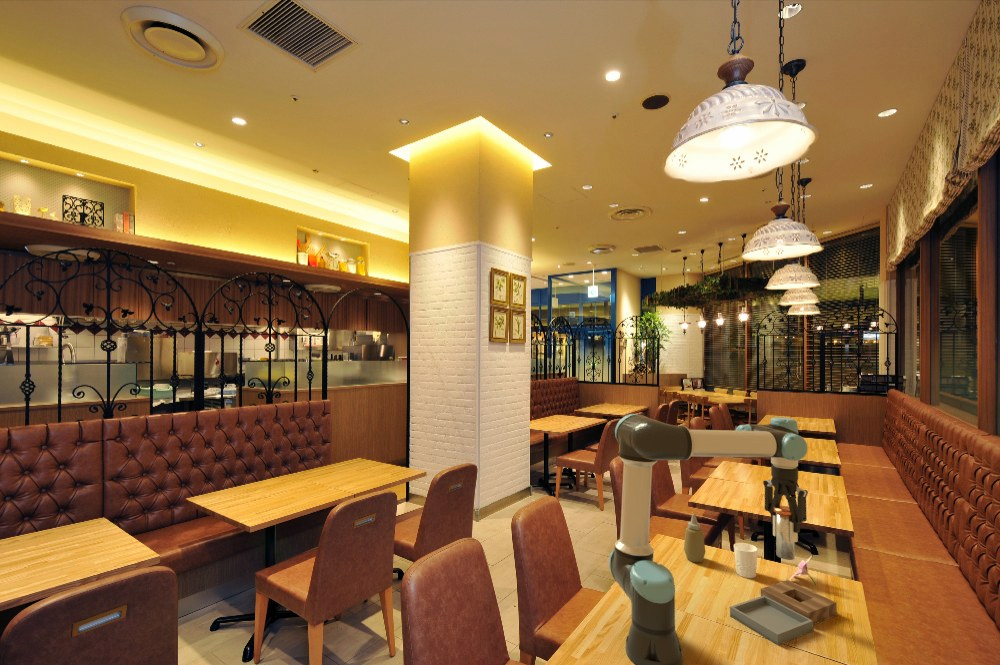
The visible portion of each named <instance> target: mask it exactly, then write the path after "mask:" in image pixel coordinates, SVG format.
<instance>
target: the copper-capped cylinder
mask: <svg viewBox="0 0 1000 665" xmlns="http://www.w3.org/2000/svg"><path fill="white" fill-rule="evenodd" d="M774 512H775V513H776V536H775V537H776V540H775V542H776V543H775V544H776V545H775V546H776V550H775V552H776V556H777V557H778V558H780V559H783V560H787V561H791V560H792V561H794V560H795V551H796V550H795V542H794V543H791V542H790V521H792V517H791V512H790V509H789V505H788V506H787V505H780V506H777V507H774Z"/></svg>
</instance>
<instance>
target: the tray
mask: <svg viewBox="0 0 1000 665" xmlns="http://www.w3.org/2000/svg"><path fill="white" fill-rule="evenodd" d="M729 612H730V613H729V617H730V618H732V619H734V620H735V621H737V622H739V623H740V624H742V625H743V626H745V627H747V628H748V629H750V630H752V631H754V632H755V633H757V634H759V635H760V636H762V637H763V638H765V639H766V640H768V641H770V642H772V643H774V644H775V645H776V646H780V645H782V644H785V643H788V642H789V641H792V640H795V639H797V638H799V637H802V636H804V635H807V634H809V633H812V632H814V625H813V621H812V620H810V619H809V618H807V617H805V616H803V615H801V614H799V613H797V612H795V611H793V610H791V609H789V608H787V607H786V606H784V605H782V604H780V603H778V602H776V601H774V600H772V599H770V598H768V597H766V596H761V595H760V596H758V597H755V598H751V599H749V600H746V601H744V602H740V603H737V604H734V605H731V606H729Z"/></svg>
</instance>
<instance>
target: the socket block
mask: <svg viewBox="0 0 1000 665" xmlns="http://www.w3.org/2000/svg"><path fill="white" fill-rule="evenodd" d="M789 580H790V579H787V580H783V581H781V582H778V583H774V584H771V585H768V586H765V587H762V588H760V597H761V596H766V597H768V598H770V599H772V600H774V601H776V602H778V603H780V604H782V605H784V606H786V607H787V608H789V609H791V610H793V611H795V612H797V613H799V614H801V615H803V616H805V617H807V618H809V619H810V620H812V621H813V626H814V625H816V624H818V623H822V622H823V621H825V620H829V619H831V618H834V617H836V616H838V611H837V610H838V609H837V607H838V606H837V602H836V601H834V600H832V599H830V598H828V597H826V596H824V595H821V594H819V593H817V592H816V591H815V592H814V591H812V590H810V589H808V588H806V587H804V586H801V585H799V584H797V583H795V582H793V581H791V580H790V581H789Z"/></svg>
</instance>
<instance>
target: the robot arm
mask: <svg viewBox="0 0 1000 665" xmlns="http://www.w3.org/2000/svg"><path fill="white" fill-rule="evenodd" d="M614 436H615V439H616V441H617V443H618V444H619V447H618V457H619V458H620V460H621V461H622V462H623V470H622V489H621V490H622V492H621V493H622V494H621V512H620V513H621V514H620V515H621V516H620V533H619V534H620V535H619V538H618V539H617V540H616V541H615V543H614V549H613V550H612V551H611V552H610V554H609V559H608V568H609V570H610V573H611V575H612V577H613V579H614V581H615V582H616V583H617V584H618V586H619V587H620V588H621V589H622V591H623V592H624V594H626V596H627V597H628V599H629V600H630V602H631V606H630V607H631V624H630V626H629V627H630V628H629V631H628V635H627V636H626V639H625V653H626V655H627V658H628V659H629V661H632V663H633V664H634V665H682V664H683V648H682V645H681V642H680V639H679V636H678V634H677V630H676V608H675V607H676V605H675V604H676V602H675V601H676V600H675V599H676V596H675V594H676V586H675V585H676V584H675V580H674V576H673V574H672V572H671V571H670V569H669V568H667V567H666V566H665V565H663V564H661V563H658V562H657V561H654V553H655V552H654V548H653V546H652V545H651V544H650V543H649V542H650V541H649V540H650V525H651V524H650V522H651V518H650V516H651V501H652V500H651V499H652V498H651V497H652V496H651V495H652V479H653V478H652V475H653V466H654V465H655V464H656V463H658V461H688V460H690V458H691V457H698V458H699V457H700V458H701V457H707V458H708V457H709V458H711V457H713V458H714V457H715V458H727V457H728V458H770V463H771V465H770V468H771V469H770V470H771V472H770V475H771V477H772V478H771V479H765V480H763V486H764V511H765V512H769V514H770V523H771V525H772V536H774V537H776V513H775V512H774V507H777V506H781V502H782V499H783V496H784V497H785V500H787V504H788V507H789V509H790V512H791V517H792V521H790V542H791V543H794V544H795V543H797V542H799V540H798V539H799V536H798V533H800V532H801V523H803V522H807V521H808V520H807V516H808V515H807V496H808V494H809V491H808V490H806V489H802V488H801V487H800V485H799V484H798V483H799V482H798V481H799V469H798V467H799V461H801V460H802V459H804V458H805V457H806V455H807V453H808V443H807V442H806V440H805V438H804V437H803V436H801V435H799V429H798V421H797V420H796V419H794V418H790V417H783V416H781V417H779V416H777V417H772V418H771V419H770V423H768V424H749V423H747V424H740V425H738V426H737V427H736V428H735V430H726V429H725V430H724V429H723V430H721V429H720V430H718V429H717V430H716V429H690V428H688V427H687V426H685V425H674V424H669V423H665V422H662V421H660V420H656V419H654V418H650V417H647V416H645V415H643V414H637V413H630V414H627V415H625V416H623V417H622V418H620V419H619V421H618V422H617V423H616V426H615V429H614ZM796 492H797V493H796Z"/></svg>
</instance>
